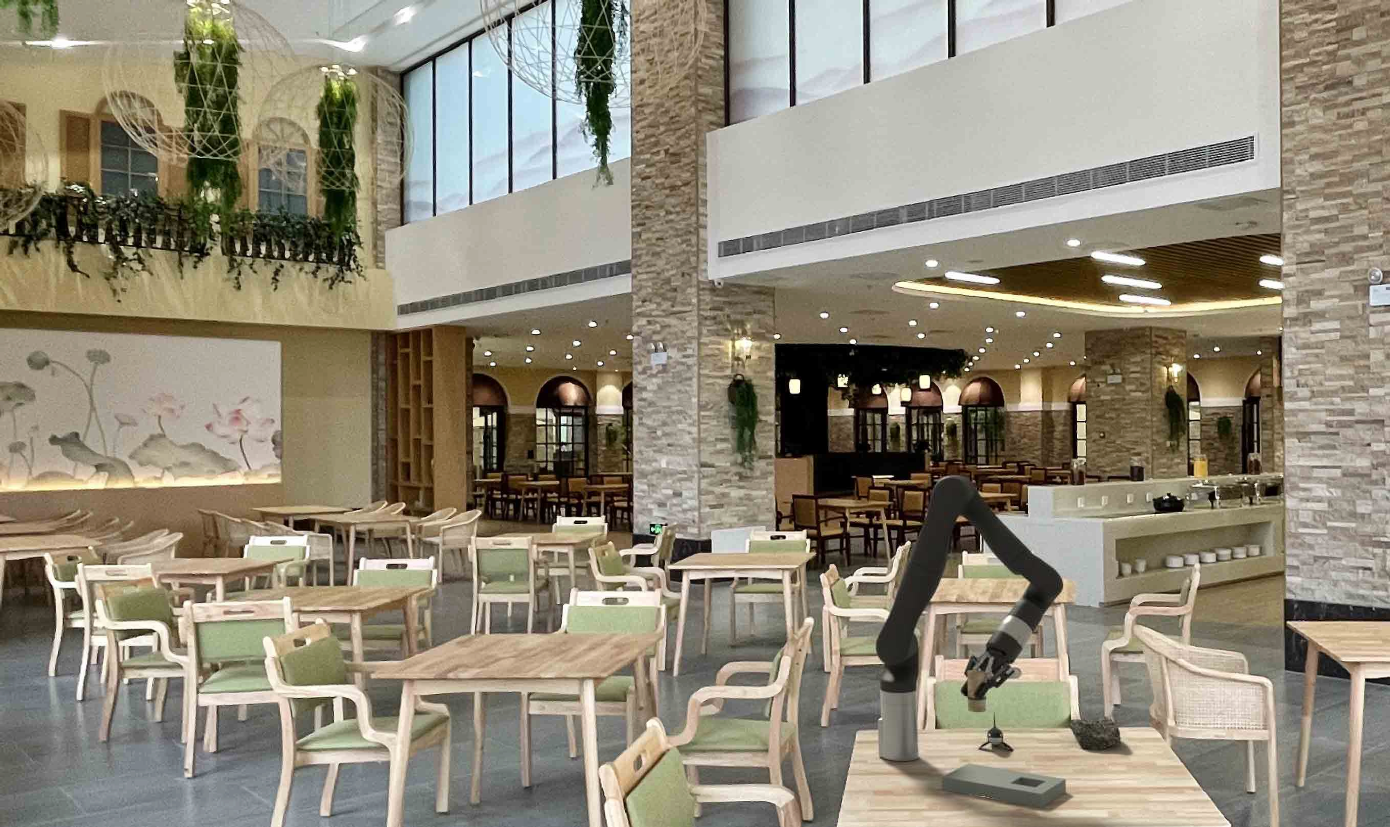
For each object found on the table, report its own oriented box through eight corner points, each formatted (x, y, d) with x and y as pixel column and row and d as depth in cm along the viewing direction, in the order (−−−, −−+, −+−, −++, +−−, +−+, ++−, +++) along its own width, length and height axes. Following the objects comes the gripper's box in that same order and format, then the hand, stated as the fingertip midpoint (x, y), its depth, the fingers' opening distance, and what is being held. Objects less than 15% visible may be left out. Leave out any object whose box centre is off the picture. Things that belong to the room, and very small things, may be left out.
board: (942, 789, 276) (941, 776, 276) (968, 775, 287) (968, 763, 287) (1041, 807, 261) (1041, 794, 261) (1065, 792, 272) (1065, 779, 272)
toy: (1015, 751, 304) (1014, 711, 307) (976, 750, 306) (974, 710, 309) (1013, 750, 324) (1012, 712, 327) (976, 749, 326) (975, 712, 329)
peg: (964, 710, 278) (963, 672, 278) (972, 707, 281) (971, 669, 281) (981, 713, 275) (980, 674, 275) (989, 709, 278) (988, 671, 279)
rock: (1068, 714, 323) (1068, 736, 323) (1078, 727, 307) (1079, 751, 307) (1113, 714, 321) (1114, 737, 321) (1126, 728, 306) (1126, 752, 306)
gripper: (980, 625, 288) (941, 680, 282) (1021, 633, 275) (980, 691, 270) (998, 645, 290) (959, 700, 285) (1039, 654, 278) (999, 712, 272)
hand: (970, 695), depth 277 cm, fingers closed on peg, 4 cm apart
